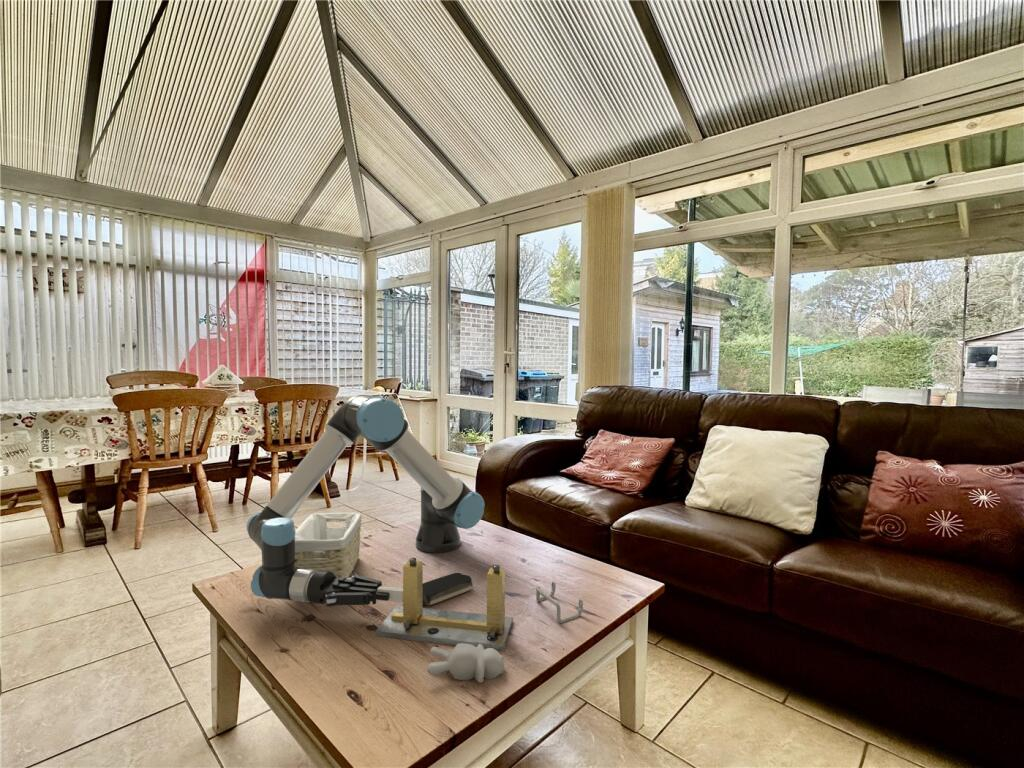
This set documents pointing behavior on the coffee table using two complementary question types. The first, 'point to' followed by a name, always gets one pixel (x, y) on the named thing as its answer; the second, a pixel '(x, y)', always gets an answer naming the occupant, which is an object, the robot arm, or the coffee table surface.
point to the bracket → (549, 597)
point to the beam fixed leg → (493, 607)
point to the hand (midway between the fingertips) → (403, 595)
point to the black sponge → (445, 587)
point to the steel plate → (445, 630)
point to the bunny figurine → (468, 662)
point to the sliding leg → (412, 592)
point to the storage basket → (328, 543)
